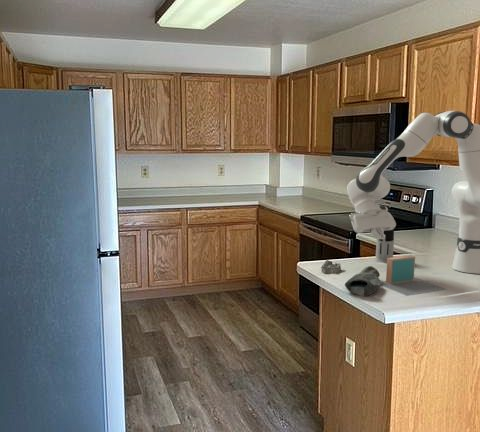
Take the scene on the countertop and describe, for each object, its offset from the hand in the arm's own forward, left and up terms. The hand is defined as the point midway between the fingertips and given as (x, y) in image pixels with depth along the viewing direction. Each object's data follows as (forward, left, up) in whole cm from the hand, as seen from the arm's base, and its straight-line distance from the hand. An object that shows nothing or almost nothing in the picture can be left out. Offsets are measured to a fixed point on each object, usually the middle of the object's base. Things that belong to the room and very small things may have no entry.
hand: (381, 238), depth 212 cm
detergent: (+16, +12, -16) cm, 26 cm away
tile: (0, +12, -15) cm, 20 cm away
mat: (0, +18, -16) cm, 24 cm away
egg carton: (+15, -14, -16) cm, 26 cm away
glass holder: (-17, -18, -16) cm, 29 cm away
